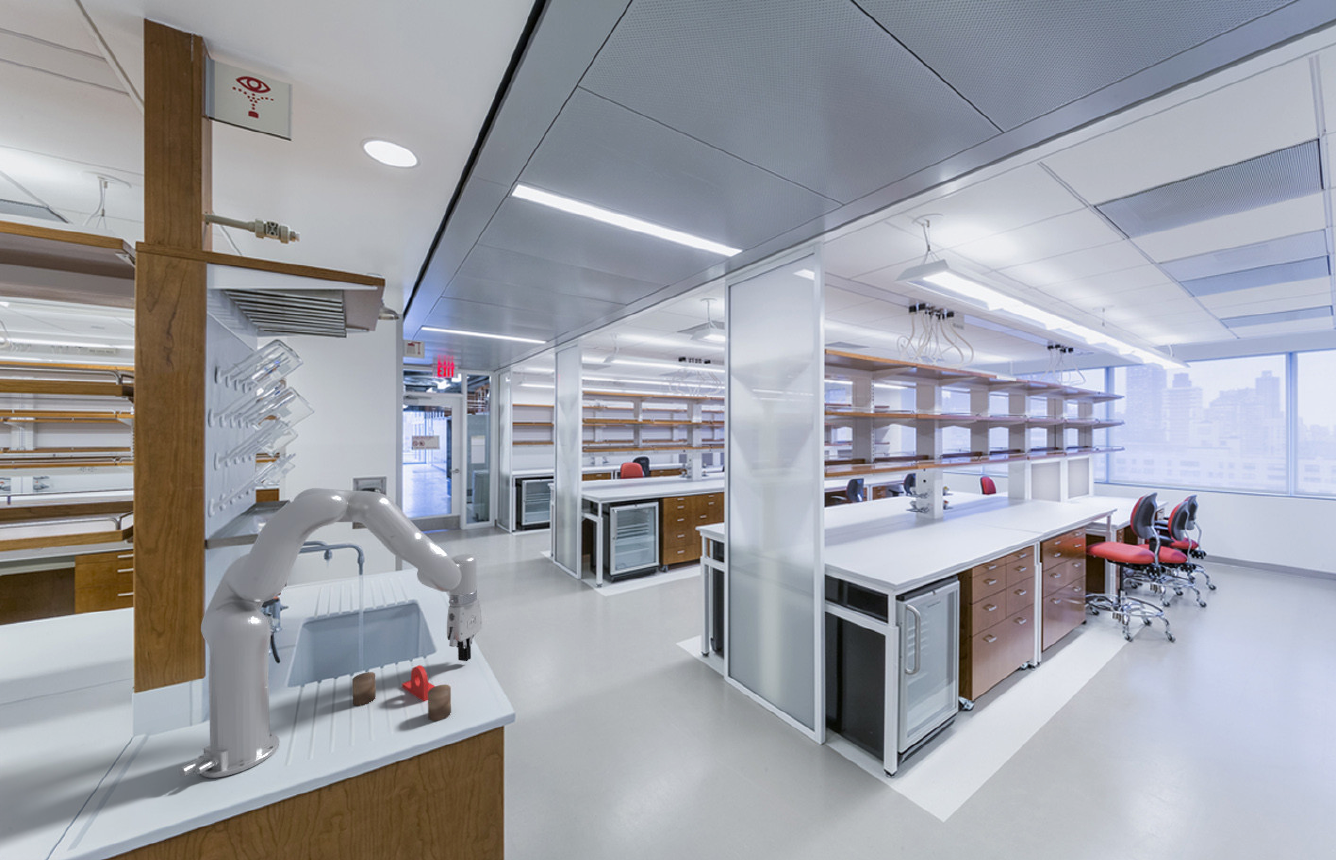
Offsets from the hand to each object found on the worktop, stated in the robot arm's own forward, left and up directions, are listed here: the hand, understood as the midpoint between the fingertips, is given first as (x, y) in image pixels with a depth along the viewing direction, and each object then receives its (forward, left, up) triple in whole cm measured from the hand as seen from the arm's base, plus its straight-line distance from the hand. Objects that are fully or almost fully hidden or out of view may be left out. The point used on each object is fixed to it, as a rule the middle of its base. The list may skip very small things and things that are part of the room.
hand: (464, 659), depth 141 cm
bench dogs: (-23, 0, -2) cm, 23 cm away
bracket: (-15, +1, -2) cm, 15 cm away
